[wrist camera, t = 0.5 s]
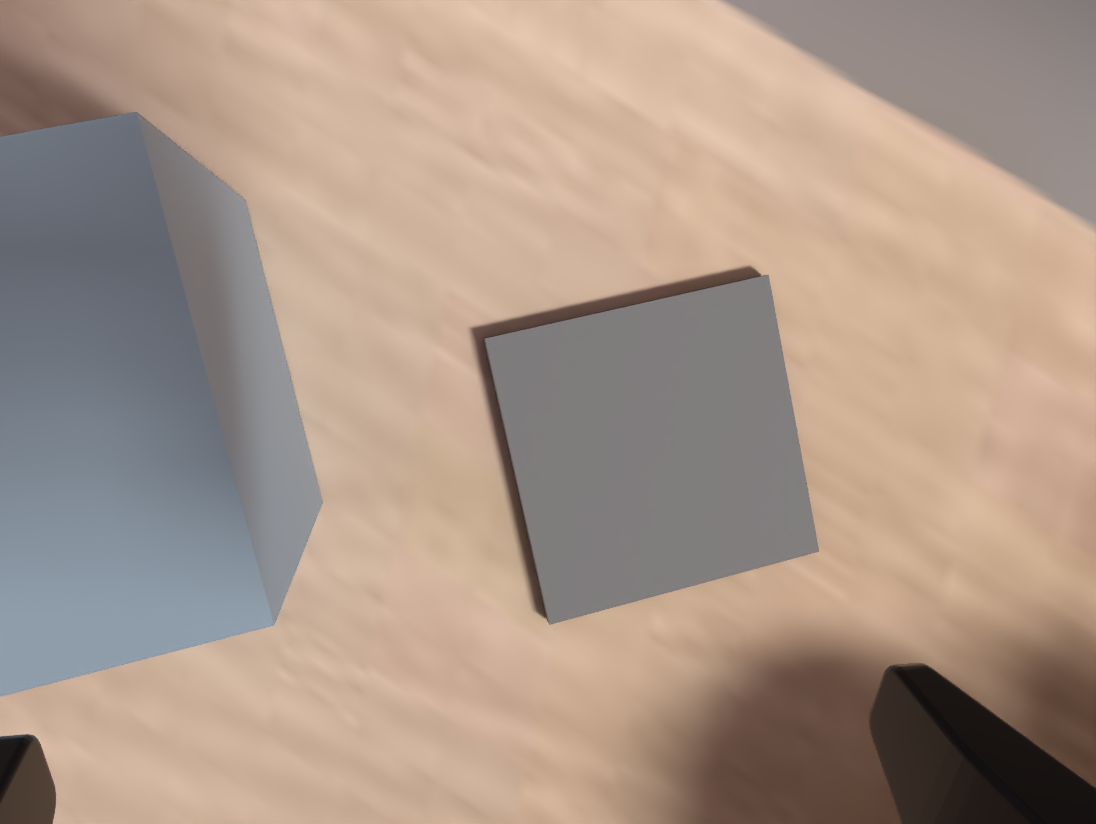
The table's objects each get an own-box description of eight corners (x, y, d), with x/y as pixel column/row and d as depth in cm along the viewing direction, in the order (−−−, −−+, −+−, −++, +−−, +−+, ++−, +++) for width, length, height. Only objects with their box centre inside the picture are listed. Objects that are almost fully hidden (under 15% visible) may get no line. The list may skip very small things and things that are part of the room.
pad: (812, 548, 27) (819, 551, 26) (547, 620, 26) (549, 624, 25) (762, 275, 26) (768, 275, 25) (483, 338, 25) (484, 338, 24)
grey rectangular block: (322, 502, 24) (274, 625, 15) (104, 556, 24) (-104, 723, 14) (245, 199, 23) (136, 111, 13) (13, 244, 23) (-280, 187, 13)
